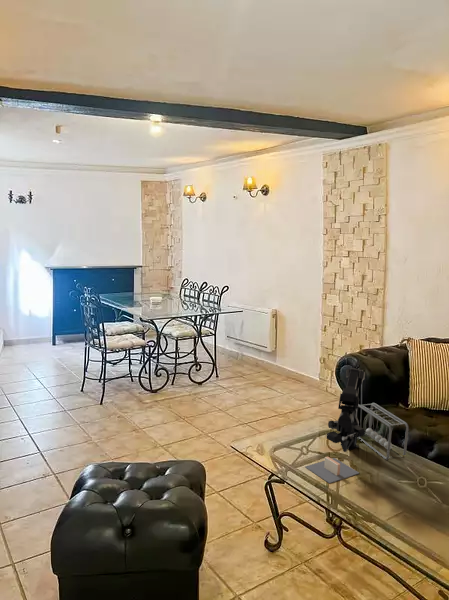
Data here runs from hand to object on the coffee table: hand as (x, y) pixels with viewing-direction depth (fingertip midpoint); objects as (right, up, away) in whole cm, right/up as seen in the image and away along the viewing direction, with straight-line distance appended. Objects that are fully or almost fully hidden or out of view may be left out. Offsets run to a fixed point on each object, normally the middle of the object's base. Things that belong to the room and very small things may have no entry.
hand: (344, 451), depth 233 cm
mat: (-6, -8, -1) cm, 10 cm away
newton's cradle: (+23, -5, +25) cm, 34 cm away
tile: (-6, -8, -2) cm, 10 cm away
